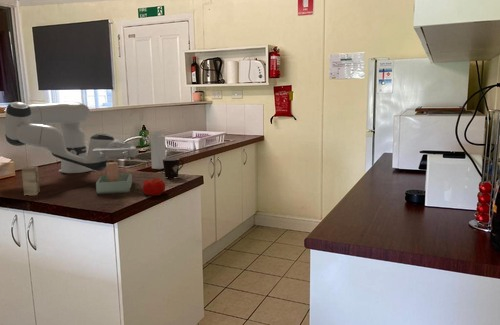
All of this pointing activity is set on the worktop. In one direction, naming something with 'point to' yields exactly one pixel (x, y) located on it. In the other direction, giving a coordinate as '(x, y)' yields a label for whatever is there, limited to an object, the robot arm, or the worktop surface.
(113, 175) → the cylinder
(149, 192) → the tomato
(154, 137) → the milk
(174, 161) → the coffee mug
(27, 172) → the block
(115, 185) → the tote
